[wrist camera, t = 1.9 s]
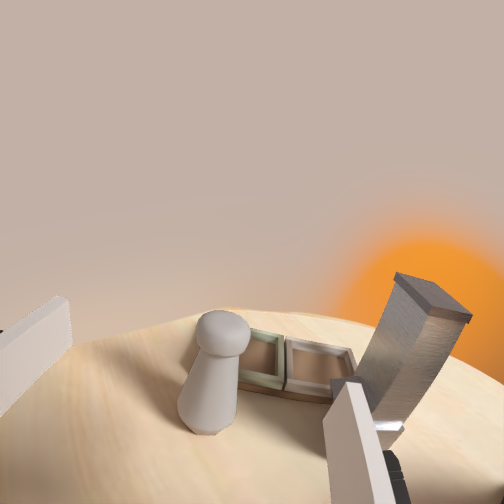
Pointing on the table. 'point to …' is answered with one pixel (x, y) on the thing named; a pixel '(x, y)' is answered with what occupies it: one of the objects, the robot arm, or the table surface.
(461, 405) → the table surface
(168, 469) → the table surface
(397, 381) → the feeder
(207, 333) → the salt shaker
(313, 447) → the table surface
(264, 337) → the grey brown flat rectangle
